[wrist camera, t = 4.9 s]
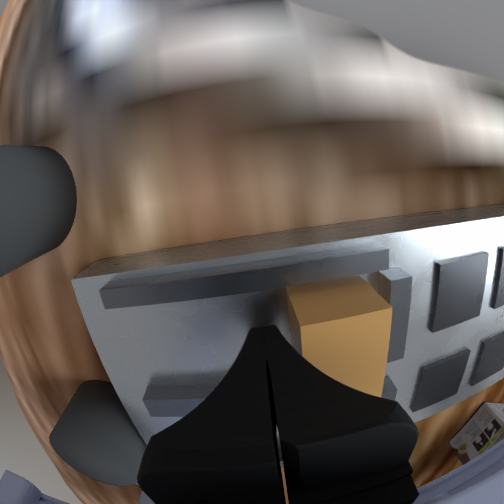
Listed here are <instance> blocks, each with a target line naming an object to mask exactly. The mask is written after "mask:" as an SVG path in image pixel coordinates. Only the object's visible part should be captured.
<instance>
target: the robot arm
mask: <svg viewBox="0 0 504 504" xmlns="http://www.w3.org/2000/svg"><path fill="white" fill-rule="evenodd" d="M276 425H277V426H276ZM277 429H278V433H279V438H280V445H281V452H282V459H283V466H284V472H285V479H286V486H287V493H288V500H289V504H504V439H503V440H501V441H500V442H499V443H497V444H496V445H494V446H493V447H491V448H490V449H488V450H487V451H485V452H484V453H482V454H481V455H479V456H477V457H476V458H474V459H473V460H471V461H469V462H468V463H466V464H464V465H462V466H461V467H459V468H457V469H455V470H453V471H452V472H450V473H448V474H446V475H444V476H442V477H440V478H438V479H436V480H434V481H432V482H430V483H428V484H426V485H423V486H421V487H419V488H416V486H415V484H414V482H413V480H412V477H411V474H412V472H413V471H412V467H411V465H410V463H409V461H408V460H409V458H410V456H411V453H412V451H413V449H414V447H415V444H416V442H417V439H418V434H419V433H418V430H417V427H416V425H415V424H414V422H413V420H412V419H411V417H410V416H409V415H408V414H407V412H406V411H405V410H404V409H403V408H402V406H401V405H400V404H399V403H398V402H397V401H393V400H389V399H385V398H381V397H377V396H373V395H370V394H367V393H364V392H361V391H359V390H356V389H353V388H351V387H349V386H347V385H345V384H343V383H341V382H339V381H337V380H335V379H333V378H331V377H329V376H328V375H326V374H325V373H323V372H322V371H320V370H319V369H317V368H316V367H315V366H313V365H312V364H311V363H310V362H308V361H307V360H306V359H305V358H304V357H303V356H302V355H301V354H299V353H298V352H297V351H296V350H295V348H294V347H293V346H292V345H291V344H290V343H289V342H288V341H287V340H286V338H285V337H284V336H283V335H282V333H281V332H280V330H279V329H278V327H277V326H276V325H269V326H262V327H255V328H250V329H249V330H248V333H247V336H246V339H245V341H244V344H243V346H242V348H241V350H240V352H239V354H238V356H237V358H236V359H235V361H234V363H233V364H232V366H231V367H230V369H229V371H228V372H227V374H226V375H225V376H224V378H223V379H222V380H221V382H220V383H219V384H218V385H217V387H216V388H215V389H214V390H213V391H212V392H211V393H210V394H209V395H208V396H207V397H206V398H205V400H204V401H202V402H201V403H200V404H199V405H198V406H197V407H196V408H195V409H193V410H192V411H191V412H190V413H188V414H187V415H185V416H184V417H183V418H181V419H180V420H178V421H177V422H175V423H174V424H172V425H170V426H169V427H167V428H165V429H164V430H162V431H160V432H158V433H157V434H155V435H153V436H151V438H150V440H149V443H148V445H147V447H146V449H145V451H144V454H143V457H142V460H141V464H140V468H139V471H138V475H137V480H136V482H135V484H137V485H139V486H140V488H141V489H142V492H141V496H140V500H139V504H286V502H285V495H284V487H283V480H282V473H281V466H280V458H279V451H278V444H277ZM0 504H69V503H66V502H63V501H60V500H58V499H55V498H53V497H50V496H47V495H45V494H43V493H41V492H40V490H39V489H38V488H37V487H36V486H35V485H33V484H32V483H31V482H29V481H28V480H26V479H25V478H23V477H20V476H18V475H16V474H14V473H12V472H10V471H8V470H6V471H5V473H4V474H3V476H2V478H1V480H0Z"/></svg>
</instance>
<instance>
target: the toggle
mask: <svg viewBox="0 0 504 504" xmlns="http://www.w3.org/2000/svg"><path fill="white" fill-rule="evenodd" d="M286 293H287V302H288V312H289V322H290V332H291V343H292V346H293V347H294V348H295V350H296V351H297V352H298V353H299V354H301V355H302V356H303V357H304V358H305V359H306V360H307V361H308V362H310V363H311V364H312V365H313V366H315V367H316V368H317V369H319V370H320V371H322V372H323V373H325V374H326V375H328V376H329V377H331V378H333V379H335V380H337V381H339V382H341V383H343V384H345V385H347V386H349V387H351V388H353V389H356V390H359V391H361V392H364V393H367V394H370V395H373V396H377V397H381V395H382V390H383V384H384V378H385V371H386V364H387V357H388V349H389V341H390V331H391V320H392V306H391V305H390V304H389V303H387V302H386V301H385V300H384V299H383V298H382V297H381V296H380V295H379V294H378V293H377V292H376V291H375V290H374V289H373V288H372V287H371V286H370V285H369V284H368V283H367V282H366V281H365V280H364V279H363V278H361V277H360V276H359V275H357V276H352V277H346V278H340V279H335V280H329V281H323V282H317V283H311V284H305V285H298V286H292V287H286Z"/></svg>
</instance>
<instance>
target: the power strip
mask: <svg viewBox="0 0 504 504" xmlns="http://www.w3.org/2000/svg"><path fill="white" fill-rule="evenodd" d="M357 275H359V276H360V277H361V278H363V279H364V280H365V281H366V282H367V283H368V284H369V285H370V286H371V287H372V288H373V289H374V290H375V291H376V292H377V293H378V294H379V295H380V296H381V297H382V298H383V299H384V300H385V301H386V302H387V303H389V304H390V305H391V306H392V320H391V331H390V341H389V349H388V357H387V364H386V371H385V378H384V384H383V390H382V395H381V398H385V399H389V400H393V401H397V402H398V403H399V404H400V405H401V406H402V408H403V409H404V410H405V411H406V412H407V414H408V415H409V416H410V417H411V419H412V420H413V422H417V421H419V420H422V419H424V418H427V417H429V416H431V415H434V414H436V413H438V412H441V411H443V410H445V409H447V408H449V407H451V406H453V405H455V404H457V403H459V402H461V401H463V400H465V399H467V398H469V397H471V396H473V395H475V394H477V393H478V392H480V391H482V390H484V389H486V388H487V387H489V386H491V385H492V384H494V383H496V382H497V381H499V380H501V379H502V378H503V377H504V204H500V205H490V206H481V207H472V208H463V209H454V210H445V211H436V212H428V213H419V214H411V215H403V216H395V217H387V218H379V219H371V220H363V221H355V222H348V223H340V224H333V225H325V226H318V227H310V228H303V229H296V230H289V231H282V232H275V233H268V234H261V235H254V236H247V237H240V238H233V239H226V240H220V241H213V242H207V243H200V244H193V245H187V246H181V247H174V248H168V249H161V250H155V251H149V252H143V253H137V254H130V255H124V256H118V257H112V258H106V259H100V260H98V261H96V262H95V263H93V264H92V265H91V266H89V267H88V268H86V269H85V270H83V271H82V272H81V273H79V274H78V275H76V276H75V277H74V278H72V279H71V282H72V286H73V289H74V292H75V295H76V298H77V301H78V304H79V307H80V309H81V312H82V315H83V318H84V320H85V323H86V326H87V328H88V331H89V333H90V336H91V338H92V341H93V343H94V346H95V348H96V350H97V353H98V355H99V357H100V359H101V362H102V364H103V366H104V368H105V370H106V372H107V374H108V377H109V379H110V381H111V383H112V385H113V387H114V389H115V391H116V393H117V394H118V396H119V398H120V400H121V402H122V404H123V406H124V408H125V409H126V411H127V413H128V415H129V417H130V418H131V420H132V422H133V423H134V425H135V427H136V428H137V430H138V432H139V433H140V435H141V437H142V438H143V440H144V441H145V443H146V445H148V443H149V440H150V438H151V436H153V435H155V434H157V433H158V432H160V431H162V430H164V429H165V428H167V427H169V426H170V425H172V424H174V423H175V422H177V421H178V420H180V419H181V418H183V417H184V416H185V415H187V414H188V413H190V412H191V411H192V410H193V409H195V408H196V407H197V406H198V405H199V404H200V403H201V402H202V401H204V400H205V398H206V397H207V396H208V395H209V394H210V393H211V392H212V391H213V390H214V389H215V388H216V387H217V385H218V384H219V383H220V382H221V380H222V379H223V378H224V376H225V375H226V374H227V372H228V371H229V369H230V367H231V366H232V364H233V363H234V361H235V359H236V358H237V356H238V354H239V352H240V350H241V348H242V346H243V344H244V341H245V339H246V336H247V333H248V330H249V329H250V328H255V327H262V326H269V325H276V326H277V327H278V329H279V330H280V332H281V333H282V335H283V336H284V337H285V338H286V340H287V341H288V342H289V343H290V344H291V345H292V343H291V332H290V322H289V312H288V302H287V293H286V287H292V286H298V285H305V284H311V283H317V282H323V281H329V280H335V279H340V278H346V277H352V276H357ZM276 426H277V425H276ZM277 444H278V451H279V458H280V466H281V468H282V467H284V466H283V459H282V452H281V445H280V438H279V433H278V429H277Z"/></svg>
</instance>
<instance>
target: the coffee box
mask: <svg viewBox="0 0 504 504" xmlns="http://www.w3.org/2000/svg"><path fill="white" fill-rule="evenodd" d="M503 439H504V404H501V403H489V402H485V403H484V404H483V405H482V406H481V407H480V408H479V410H478V411H477V412H476V413H475V414H474V416H473V417H472V418H471V419H470V420H469V421H468V422H467V424H466V425H465V426H464V427H463V428H462V429H461V430H460V431H459V432H458V433H457V434H456V435H455V436H454V437H453V438H452V439H451V440H450V445H451V446H452V448H453V449H454V451H455V453H456V454H457V456H458V457H459V459H460V461H461V462H462V464H463V465H464V464H466V463H468V462H469V461H471V460H473V459H474V458H476V457H477V456H479V455H481V454H482V453H484V452H485V451H487V450H488V449H490V448H491V447H493V446H494V445H496V444H497V443H499V442H500V441H501V440H503Z"/></svg>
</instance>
